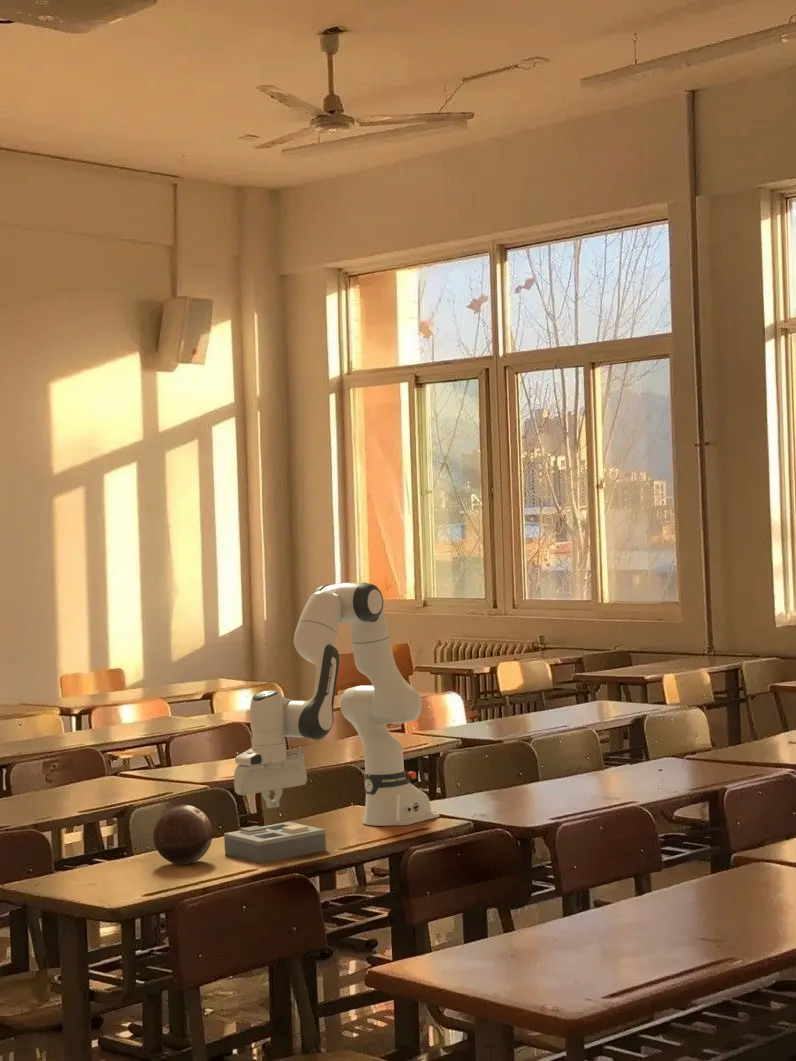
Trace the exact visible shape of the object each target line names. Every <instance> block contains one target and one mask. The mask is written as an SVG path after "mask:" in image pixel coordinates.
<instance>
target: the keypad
mask: <svg viewBox="0 0 796 1061" xmlns="http://www.w3.org/2000/svg"><path fill="white" fill-rule="evenodd" d="M298 824H299V825H303V826H308V830H309V831H305V832H300V833H294V834H289V833H285V832H282V827H287V826H292V825H298ZM261 827H265V828H266V832H264V833H259V834H253V835H246V834H242V833H240V830H237V831H230V832H225V833H223V839H224V854H225V855H226V854H228V855H227V856H230V855H231V856H230V857H234V858H238V859H242V860H245V861H250V862H253V863H257V864H264V863H265V864H266V863H270V862H275V861H279V860H285V859H290V858H295V857H301V856H306V855H310V854H316V853H320V852H324V851H327V842H326V829H324V828H321V827H320V828H319V827H315V826H311V825H306V824H300V823H296V822H292V821H286V822H280V823H279V822H278V823H274V824H268V825H263V826H261ZM277 829H280V830H277ZM272 836H274V837H273V838H267V837H272ZM263 838H267V839H263Z"/></svg>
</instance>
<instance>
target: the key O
mask: <svg viewBox="0 0 796 1061" xmlns="http://www.w3.org/2000/svg"><path fill="white" fill-rule="evenodd" d="M239 831H240V833H242V834H246V835H253V834H259V833H264V832H266V828H265V827H262V826H260V825H253V826H252V825H251V826H248V827H241V828H240V829H239Z"/></svg>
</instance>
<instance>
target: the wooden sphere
mask: <svg viewBox="0 0 796 1061" xmlns="http://www.w3.org/2000/svg"><path fill="white" fill-rule="evenodd" d="M152 837H153V844H154V846H155V848H156V851H157V852H158V854H159V855H160V856H161V857H162V858H163V859H165V860H166V861H167V862H169V863H171V864H174V865H189V864H193V863H195V862H197V861H199V860H200V859H201V858H202V857H204V855H206V853H208V851H209V849H210V847H211V844H212V840H213V828H212V824H211V821H210V820H209V817H208V816H207V815H206V814H205V813H204V812H203V811H202V810H200V809H199V808H197V807H195V806H192V805H189V804H180V805H179V804H178V805H175V806H172V807H170V808H168V809H166V811H164V812H163V813H162V814H161V815H160V816H159V817H158V819H157V821H156V823H155V826H154V828H153V836H152Z"/></svg>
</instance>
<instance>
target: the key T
mask: <svg viewBox="0 0 796 1061" xmlns="http://www.w3.org/2000/svg"><path fill="white" fill-rule="evenodd" d="M297 824H298V825H292V826H287V827H282V832H285V833H289V834H294V833H300V832H305V831H309V830H308V826H309V825H307V826H303V825H304V824H302V825H299V824H300V823H297Z"/></svg>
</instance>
